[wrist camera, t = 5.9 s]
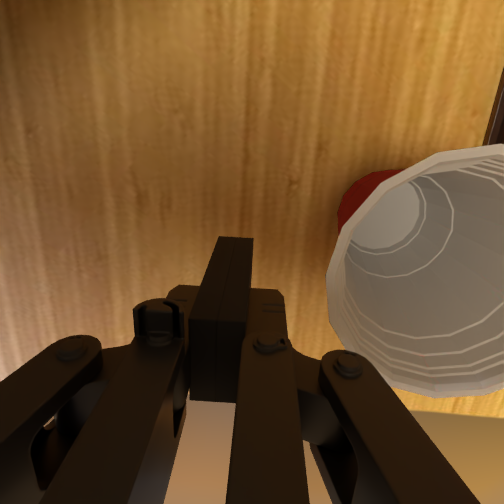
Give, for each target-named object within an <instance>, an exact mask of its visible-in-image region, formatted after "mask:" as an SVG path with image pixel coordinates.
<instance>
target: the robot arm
mask: <svg viewBox="0 0 504 504" xmlns="http://www.w3.org/2000/svg"><path fill="white" fill-rule="evenodd" d="M253 239H254V238H241V237H224V236H219V237H218V240H217V242H216V245H215V248H214V251H213V253H212V256H211V259H210V261H209V264H208V267H207V269H206V272H205V275H204V277H203V280H202V283H201V285H200V286H193V285H178V286H176V287H175V288H173V289H172V290H171V291H169V293H168V295H167V297H166V298H157V299H151V300H146V301H144V302H142V303H140V304H138V305H137V306H135V307H134V308H133V320H134V332H135V337H134V339H133V340H132V342H131V344H128V345H125V346H120V347H113V348H106V349H102V347H101V343H100V341H99V340H98V339H97V338H95V337H93V336H89V335H76V336H75V335H74V336H69V337H66V338H63V339H60V340H58V341H56V342H55V343H53V344H51V345H50V346H48V347H47V348H46V349H44V350H43V351H42V352H40V353H39V354H37V355H36V356H35V357H33V358H32V359H31V360H29V361H28V362H27V363H25V364H24V365H23V366H21V367H20V368H19V369H17V370H16V371H15V372H13V373H12V374H11V375H9V376H8V377H6V378H5V379H4V380H2V381H1V382H0V504H163V503H164V499H165V495H166V491H167V488H168V484H169V480H170V476H171V472H172V468H173V464H174V460H175V457H176V453H177V449H178V445H179V440H180V437H181V433H182V429H183V425H184V422H185V418H186V398H187V395H188V391H189V393H190V400H195V401H211V402H227V403H236V408H235V417H234V427H233V436H232V446H231V457H230V465H229V475H228V484H227V494H226V503H225V504H310V503H309V494H308V484H307V476H306V467H305V457H304V449H303V440H305V441H308V442H309V443H310V449H311V451H312V454H313V456H314V459H315V461H316V464H317V466H318V469H319V471H320V474H321V476H322V479H323V481H324V484H325V486H326V489H327V491H328V494H329V496H330V499H331V501H332V504H480V502H479V501H478V500H477V498H476V497H475V496H474V495H473V493H472V492H471V491H470V489H469V488H468V487H467V486H466V484H465V483H464V482H463V480H462V479H461V478H460V476H459V475H458V474H457V473H456V471H455V470H454V469H453V467H452V466H451V465H450V464H449V462H448V461H447V460H446V458H445V457H444V456H443V455H442V453H441V452H440V451H439V449H438V448H437V447H436V445H435V444H434V443H433V442H432V440H431V439H430V438H429V436H428V435H427V434H426V433H425V431H424V430H423V429H422V427H421V426H420V425H419V423H418V422H417V421H416V420H415V418H414V417H413V416H412V414H411V413H410V412H409V411H408V409H407V408H406V407H405V405H404V404H403V403H402V402H401V400H400V399H399V398H398V396H397V395H396V394H395V392H394V391H393V390H392V389H391V387H390V386H389V385H388V383H387V382H386V381H385V380H384V378H383V377H382V376H381V374H380V373H379V372H378V371H377V369H376V368H375V367H374V365H373V364H372V363H371V362H370V361H369V360H368V359H367V358H365V357H363V356H361V355H360V354H358V353H355V352H352V351H348V350H334V351H330V352H328V353H326V354H325V355H324V356H323V357H322V360H317V359H314V358H310V357H308V356H305V355H303V354H301V353H299V352H297V351H296V350H295V349H294V348H293V347H292V344H291V342H290V340H289V339H288V333H287V323H286V314H285V303H284V297H283V295H282V294H281V293H280V292H279V291H278V290H275V289H259V288H251V275H252V257H253ZM53 416H54V419H53V420H52V421H51V422H50V423H49V424H48V425H46V426H45V427H43V426H44V425H45V424H46V423H47V422H48V421H49V420H50V419H51V418H52V417H53Z"/></svg>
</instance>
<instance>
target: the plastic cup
mask: <svg viewBox="0 0 504 504" xmlns="http://www.w3.org/2000/svg"><path fill="white" fill-rule="evenodd" d="M338 235H339V238H338V241H337V244H336V246H335V249H334V252H333V255H332V258H331V261H330V264H329V267H328V269H327V272H326V275H325V278H326V289H327V300H328V311H329V322H330V324H331V325H332V327H333V329H334V330H335V332H336V334H337V336H338V337H339V339H340V341H341V342H342V344H343V346H344V347H345V349H346V350H348V351H352V352H355V353H358V354H360V355H361V356H363V357H365V358H367V359H368V360H369V361H370V362H371V363H372V364H373V365H374V367H375V368H376V369H377V371H378V372H379V373H380V374H381V376H382V377H383V378H384V380H385V381H386V382H387V383H388V385H389V386H390V387H394V388H398V389H402V390H405V391H409V392H413V393H417V394H420V395H424V396H428V397H432V398H446V397H463V396H481V395H487V394H490V393H492V392H495V391H498V390H501V389H503V388H504V144H494V145H487V146H480V147H473V148H466V149H458V150H451V151H444V152H437V153H435V154H433V155H431V156H430V157H428V158H426V159H424V160H422V161H420V162H418V163H417V164H415V165H413V166H411V167H409V168H407V169H400V170H386V171H379V172H372V173H371V174H369V175H367V176H365V177H363V178H362V179H360V180H358V181H356V182H355V183H354V184H353V185H352V186H351V188H350V189H349V190H348V191H347V192H346V193H345V195H344V196H343V199H342V202H341V204H340V207H339V210H338Z"/></svg>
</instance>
